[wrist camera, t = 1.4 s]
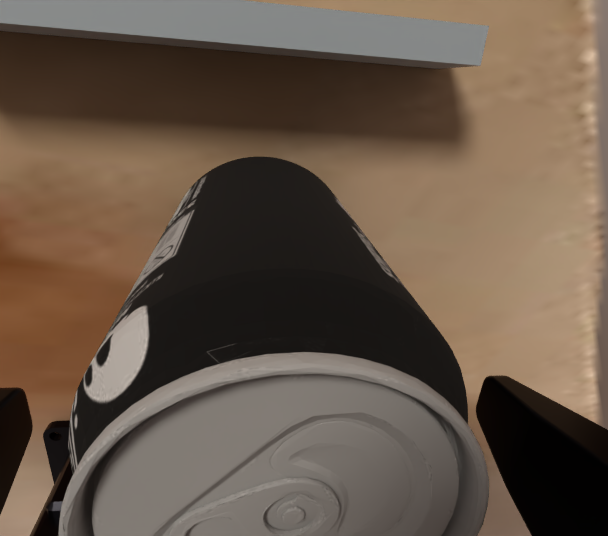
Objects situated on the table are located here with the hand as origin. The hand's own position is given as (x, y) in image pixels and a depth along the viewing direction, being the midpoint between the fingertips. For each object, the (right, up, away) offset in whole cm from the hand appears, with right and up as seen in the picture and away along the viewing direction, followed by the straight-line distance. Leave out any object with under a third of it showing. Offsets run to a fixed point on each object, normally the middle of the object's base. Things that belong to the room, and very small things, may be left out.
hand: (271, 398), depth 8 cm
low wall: (-3, +10, +5) cm, 12 cm away
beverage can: (-1, +4, +8) cm, 9 cm away
